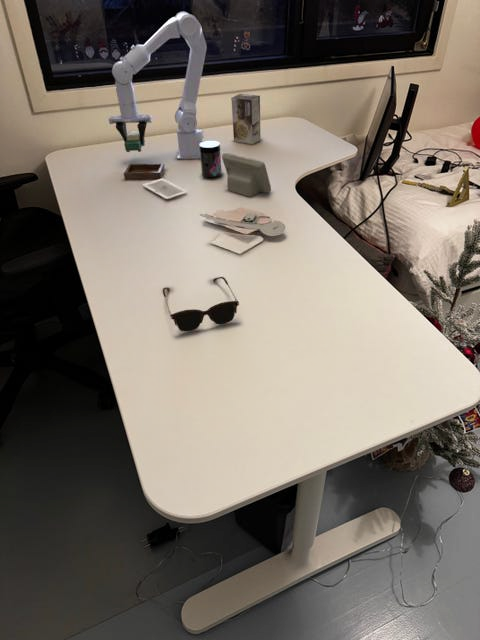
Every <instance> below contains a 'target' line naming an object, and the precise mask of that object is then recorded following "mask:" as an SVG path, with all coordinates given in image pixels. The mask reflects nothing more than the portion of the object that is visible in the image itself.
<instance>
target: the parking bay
mask: <svg viewBox="0 0 480 640" xmlns="http://www.w3.org/2000/svg"><path fill="white" fill-rule="evenodd" d="M165 171H166V167H165V163H164V162H162V163H161V162H159V163H158V162H157V163H156V162H155V163H129V164H128V165H127V167H126V168H125V170H124V172H123V176H124V181H150V180H152V181H155V180H158V179H161V178H163V176H164V173H165Z"/></svg>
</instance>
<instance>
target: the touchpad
mask: <svg viewBox="0 0 480 640" xmlns="http://www.w3.org/2000/svg"><path fill="white" fill-rule="evenodd" d="M142 186H143V187H145V188H146V189H148V190H149V191H151V192H153V193H155V194H157V195H159V196H160V197H162V198H163V199H166V200H168V199H172V198H174V197H177V196H180V195H183V194H186V193H188V192H189V191H188V190H187V189H184V188H182V187H180V186H179V185H177V184H174V183H173V182H171V181H169V180H168V179H165V178H163V177H162V178H161V179H158V180H152V181H149V182H145V183H143V184H142Z"/></svg>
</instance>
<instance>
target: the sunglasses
mask: <svg viewBox="0 0 480 640" xmlns="http://www.w3.org/2000/svg"><path fill="white" fill-rule="evenodd" d="M220 279H221V280H223V281H224V284H225V285H226V286H227V287H228V289H229V291H230V292H231V295H232V296H233V298H234V300H230V301H223V302H220V303H217V304H214V305H212V306H211V307H209V308H208V309H207V310H201V309H195V308H194V309H185V310H181V311H176V312H174V313H172V312H171V310H170V307H169V303H168V301H167V295H166V291H168V292H169V291H170V288H169V287H163V288H162V295H163V297H164V300H165V303H166V306H167V310H168V313H169V316H170V320H173V322H174V325H175V327H177V328H178V330H179V331H181V332H185V333H188V332H192V331H193V332H194V331H196V330H197V329H199V327H200V326H201V324H203V321H204V317H205V316H208V318H209V319H210V321H211V322H213V323H214V324H216V325H218V326H219V325H220V326H221V325H225V324H228V323H230V322H232V321H233V320H234V318H235V315H236V314H237V311H238V306H239V305H240V301H239V300H238V299H237V297H236V296H235V293H234V292H233V290H232V289H231V286H230V284H229V282H228V280H227V279H226V278H225V277H224V276H218V277H215V278H213V279H212V281H213V282H214V283H216V282H217V281H218V280H220ZM165 290H166V291H165Z"/></svg>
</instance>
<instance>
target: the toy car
mask: <svg viewBox="0 0 480 640" xmlns="http://www.w3.org/2000/svg"><path fill="white" fill-rule="evenodd" d="M126 136H127V140H126V142H124V149H125V152H126V153H130V152H131V151H135V152H136V151H137V153H141V152H142V147H145V143H146V140H145V139H144V145H141V141H140V134H139V130H135V131H133V130H132V131H128V132H127V135H126Z"/></svg>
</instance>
